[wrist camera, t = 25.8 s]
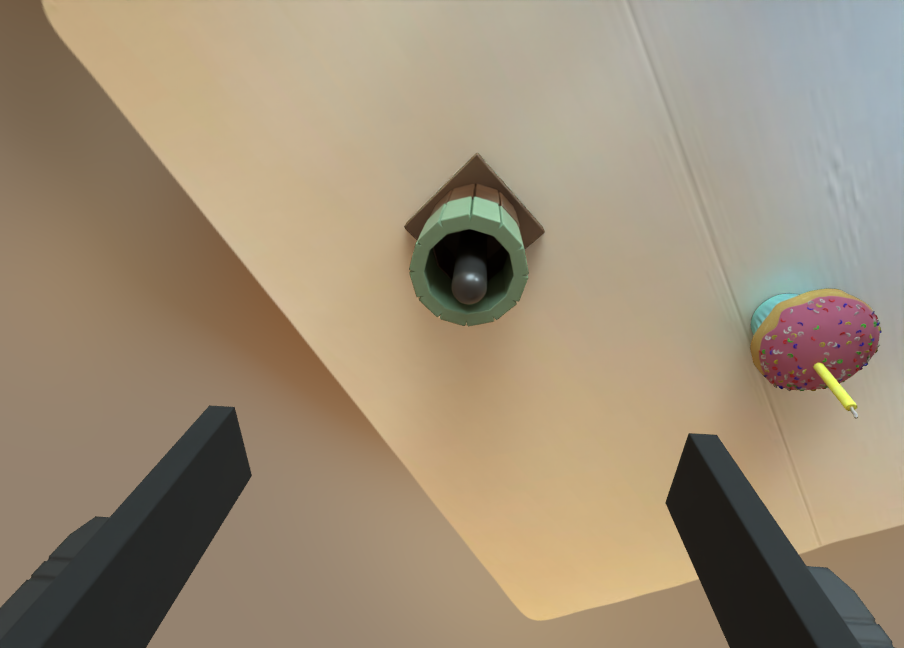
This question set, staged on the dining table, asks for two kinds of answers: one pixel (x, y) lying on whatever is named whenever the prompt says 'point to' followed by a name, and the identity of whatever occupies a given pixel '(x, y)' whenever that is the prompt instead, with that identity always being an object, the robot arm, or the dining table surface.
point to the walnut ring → (441, 252)
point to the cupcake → (814, 340)
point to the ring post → (470, 243)
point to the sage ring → (437, 284)
